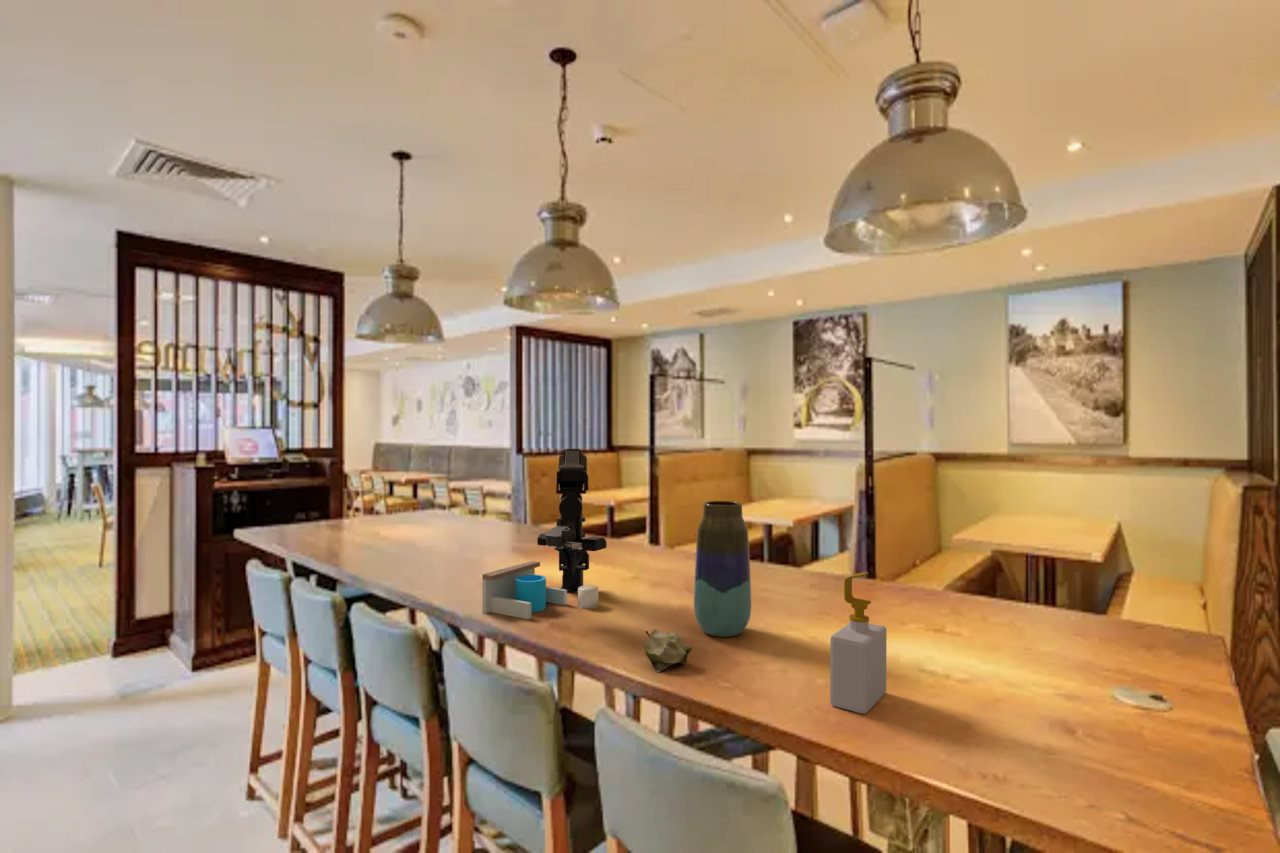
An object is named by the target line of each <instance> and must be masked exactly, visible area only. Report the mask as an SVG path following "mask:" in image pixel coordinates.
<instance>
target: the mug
mask: <svg viewBox="0 0 1280 853" xmlns="http://www.w3.org/2000/svg"><path fill="white" fill-rule="evenodd" d="M546 586H547V577H546V576H544V575H540V574H535V575H524V576H519V577H517V578H516V600H519V601H525V602H530V603H531V613H536V611H537V612H542V611H544V610H545V609H546V607H547V602H546Z"/></svg>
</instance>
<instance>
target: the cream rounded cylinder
mask: <svg viewBox="0 0 1280 853" xmlns="http://www.w3.org/2000/svg"><path fill="white" fill-rule="evenodd" d="M577 607H578V608H580V609H585V610H587V609H597V608H598V607H599V586H597V585H592V584H591V585H588V584H587V585H583V586H580V587H578V592H577Z"/></svg>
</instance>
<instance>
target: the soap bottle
mask: <svg viewBox="0 0 1280 853" xmlns="http://www.w3.org/2000/svg"><path fill="white" fill-rule="evenodd" d="M867 575H869V572H868V571H864V572H858V573H854V574H852V575H850V576H848V577H846V578H845V579H844V584H843V585H844V588H843V589H844V596H843V597H844V601H845V602H846V603H848V604H850V608H852V609H854V611H853V612H854V613H851V614H849V617H848V618H849V619H848V620H849V623H848V624H846V625H845V626H843V627H842V628H840V629H839V630H837V631H836V632H835V633H833V634H832V635H831V637H830V640H829V641H830V644H829V645H830V648H829V649H830V653H829V654H830V658H829V659H830V660H829V661H830V662H829V663H830V667H829V668H830V670H829V671H830V673H829V674H830V675H829V676H830V680H829V681H830V682H829V684H830V685H829V689H830V691H829V692H830V695H829V697H830V698H829V699H830V701H829V702H830V705H831V706H833V707H837V708H840V709H843V710H848V711H851V712H855V713H858V714H862V715H865V714H868V713H869V711H870V710H871V709H872V708H873V707H874V706H875V705H876V704H877V703H878V702H879V701H880V700H881V699H882V697H883V696H885V694H886V692H887V632H888V631H887V627H886V626H884V625H881V624H880V625H879V624H874V623H869V622H870V616H868V615H866V614H865V610H868V606H869V605H870V604H871V603H872V601H871V600H869V599H862V598H857V597H854V596H853V579H856V578H857V579H858V578H862V577H865V576H867Z"/></svg>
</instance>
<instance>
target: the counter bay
mask: <svg viewBox="0 0 1280 853" xmlns="http://www.w3.org/2000/svg"><path fill="white" fill-rule="evenodd" d="M538 567H541V561H533V560H529V561H525V562H522V563H518V564H516V565H512V566H508V567H504V568H502V569H498V570H493V571H490V572H487V573H484V574H483V573H482V614H488V613H495V614H500V615H505V616H510V617H515V618H520V619H525V620H530V619H532V612H531V603H530V602H525V601H519V600H516V578H517V577H519V576H524V575H536V572H535V568H538ZM559 588H560V587H558V588H557V587H552V586H547V585H546V603H550V604H556V605H562V606H566V605H568V591H567V590H565V589H559Z"/></svg>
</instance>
